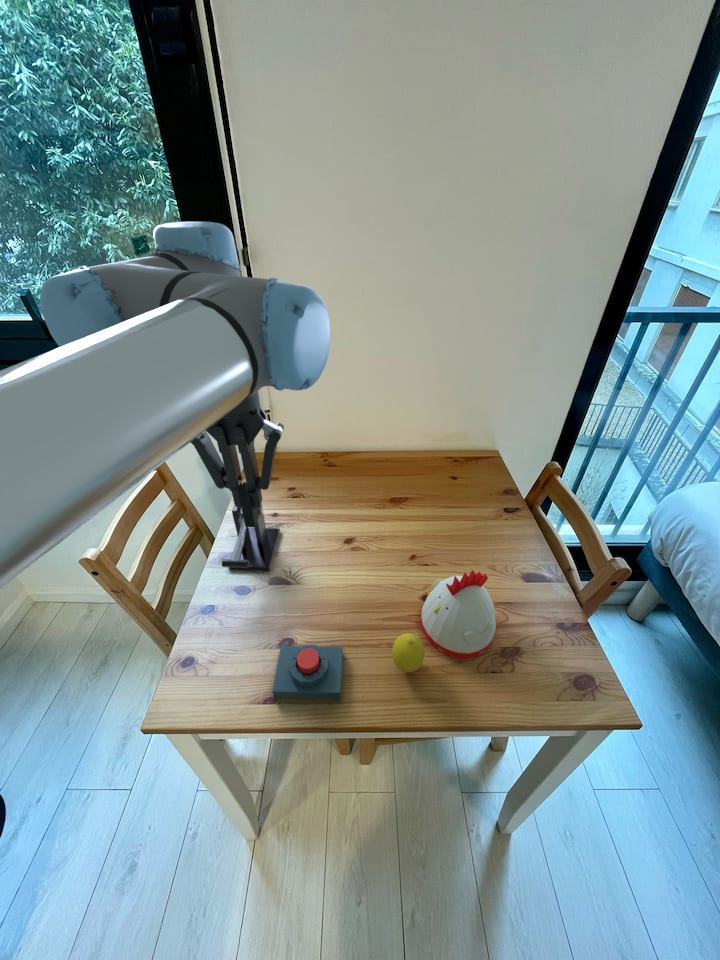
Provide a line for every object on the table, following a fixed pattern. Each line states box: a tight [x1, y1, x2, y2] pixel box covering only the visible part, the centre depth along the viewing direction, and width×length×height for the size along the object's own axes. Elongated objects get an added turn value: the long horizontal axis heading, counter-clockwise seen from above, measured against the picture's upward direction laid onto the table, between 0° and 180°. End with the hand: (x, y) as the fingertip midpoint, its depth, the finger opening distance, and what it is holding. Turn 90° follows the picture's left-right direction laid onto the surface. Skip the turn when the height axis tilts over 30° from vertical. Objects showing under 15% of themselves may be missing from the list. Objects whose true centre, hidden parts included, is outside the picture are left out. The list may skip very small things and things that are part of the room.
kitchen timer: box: [419, 569, 497, 659], centre depth 74 cm, size 14×14×15 cm
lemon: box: [391, 633, 426, 673], centre depth 70 cm, size 6×6×8 cm
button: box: [297, 648, 319, 674], centre depth 68 cm, size 4×4×2 cm
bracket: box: [227, 502, 281, 572], centre depth 89 cm, size 12×9×14 cm
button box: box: [272, 644, 344, 700], centre depth 69 cm, size 11×8×4 cm
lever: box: [221, 509, 249, 568], centre depth 83 cm, size 14×5×2 cm, turn 178°
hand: (252, 520), depth 63 cm, fingers closed
